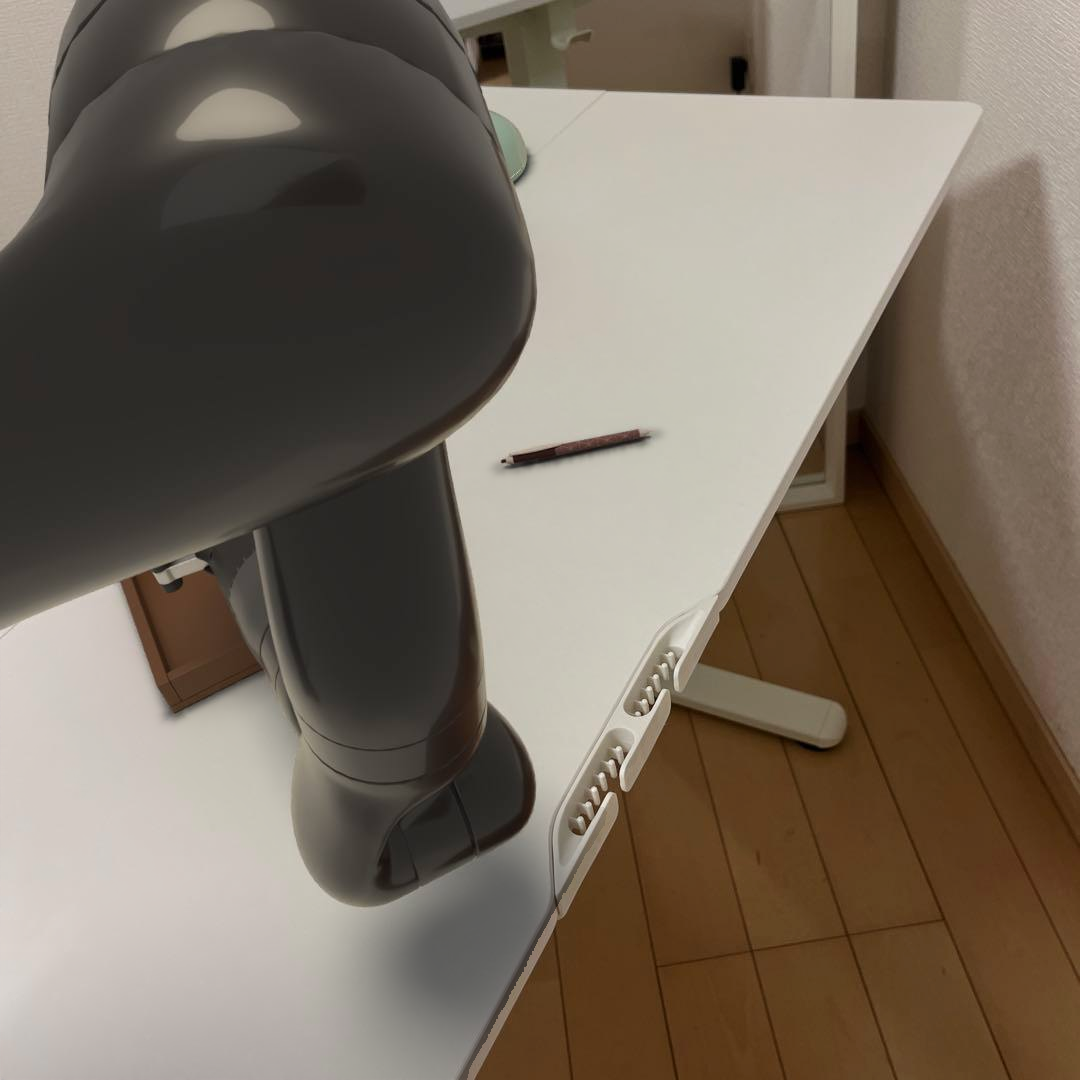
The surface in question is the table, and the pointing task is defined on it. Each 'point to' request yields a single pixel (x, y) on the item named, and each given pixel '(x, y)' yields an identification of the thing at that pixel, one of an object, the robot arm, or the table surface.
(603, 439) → the pen
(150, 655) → the tray
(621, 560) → the table surface
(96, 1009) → the table surface
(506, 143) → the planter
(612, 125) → the table surface
